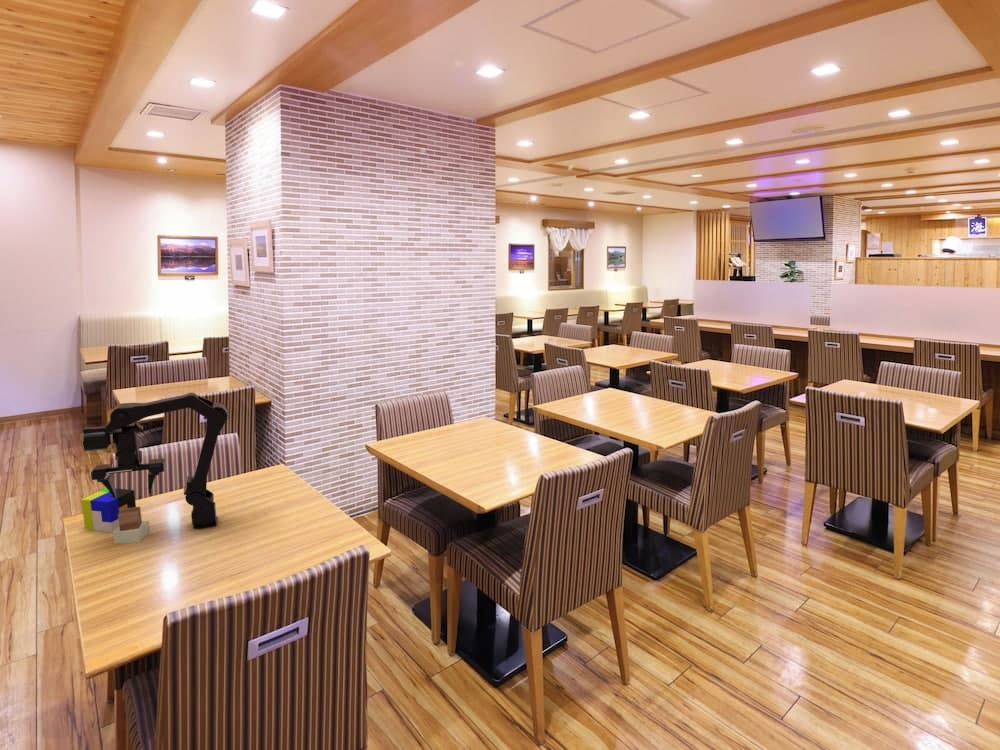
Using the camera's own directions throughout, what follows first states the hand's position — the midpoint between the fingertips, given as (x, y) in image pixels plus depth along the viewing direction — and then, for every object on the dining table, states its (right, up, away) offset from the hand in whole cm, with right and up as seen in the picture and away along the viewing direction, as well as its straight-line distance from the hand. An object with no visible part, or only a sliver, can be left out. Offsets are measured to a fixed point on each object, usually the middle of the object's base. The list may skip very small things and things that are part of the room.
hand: (133, 495), depth 184 cm
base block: (-1, -13, +1) cm, 13 cm away
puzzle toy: (-13, -11, +10) cm, 20 cm away
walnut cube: (-1, -9, 0) cm, 9 cm away
